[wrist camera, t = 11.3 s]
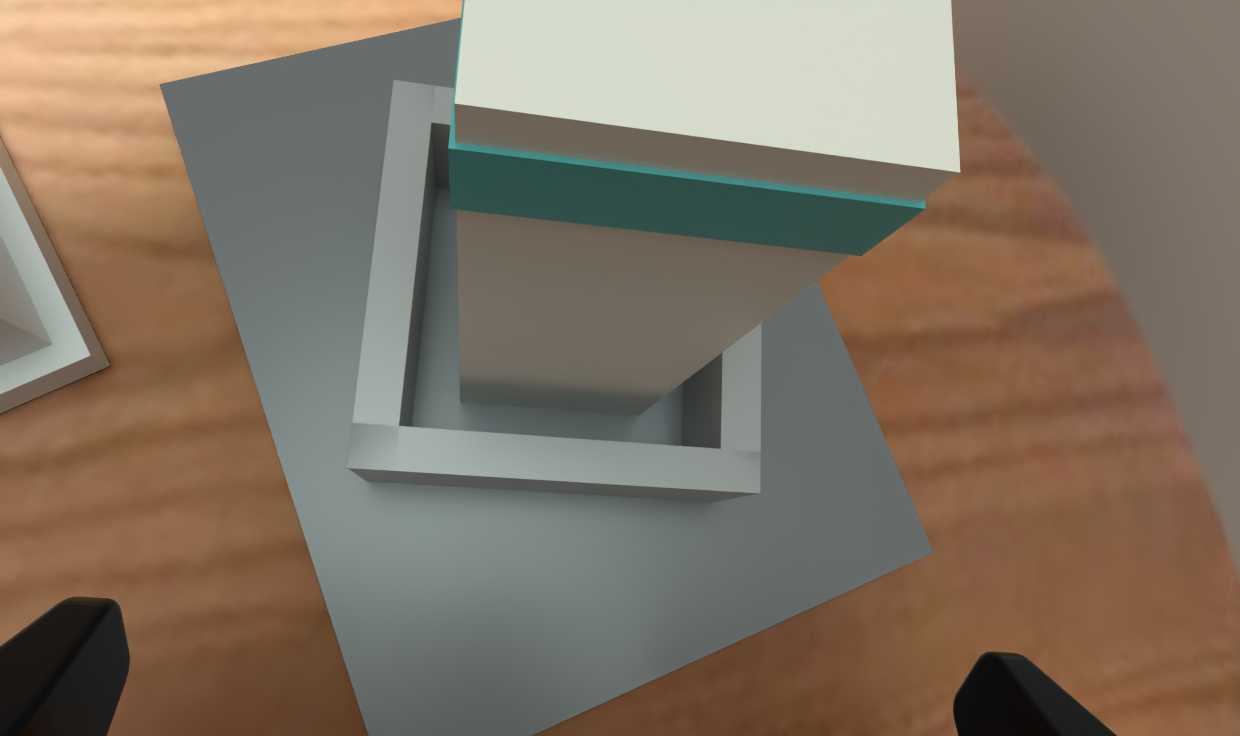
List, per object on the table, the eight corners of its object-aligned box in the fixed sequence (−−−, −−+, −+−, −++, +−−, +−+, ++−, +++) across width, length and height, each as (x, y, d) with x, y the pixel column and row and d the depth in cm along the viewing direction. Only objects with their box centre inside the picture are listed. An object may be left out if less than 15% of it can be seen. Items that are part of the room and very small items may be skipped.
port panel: (900, 551, 21) (1017, 553, 16) (395, 779, 17) (373, 855, 13) (669, 5, 23) (717, -122, 18) (181, 118, 20) (102, -4, 15)
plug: (640, 418, 19) (967, 178, 7) (457, 404, 18) (445, 108, 6) (647, 248, 19) (942, -234, 7) (473, 229, 19) (492, -337, 7)
